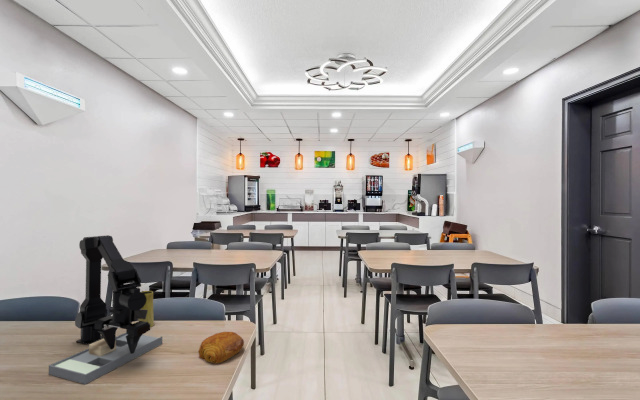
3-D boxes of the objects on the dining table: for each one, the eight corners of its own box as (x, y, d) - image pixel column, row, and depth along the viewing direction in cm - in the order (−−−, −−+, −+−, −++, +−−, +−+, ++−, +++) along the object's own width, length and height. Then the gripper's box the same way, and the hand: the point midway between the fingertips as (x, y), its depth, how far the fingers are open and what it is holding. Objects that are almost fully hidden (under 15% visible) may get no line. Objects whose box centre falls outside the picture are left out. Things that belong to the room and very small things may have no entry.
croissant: (250, 355, 118) (252, 332, 119) (219, 368, 104) (223, 342, 105) (219, 346, 124) (222, 324, 125) (187, 357, 110) (190, 333, 111)
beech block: (88, 353, 109) (88, 344, 109) (104, 346, 114) (104, 338, 114) (100, 356, 107) (100, 347, 107) (116, 349, 112) (116, 340, 112)
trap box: (48, 374, 100) (48, 365, 100) (130, 337, 127) (130, 330, 127) (85, 384, 95) (85, 375, 95) (162, 343, 121) (162, 336, 121)
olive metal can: (147, 329, 135) (147, 294, 135) (134, 328, 136) (134, 294, 136) (157, 323, 141) (157, 290, 141) (144, 322, 142) (145, 290, 142)
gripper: (163, 300, 113) (163, 345, 113) (123, 294, 119) (123, 337, 119) (135, 310, 102) (135, 360, 102) (93, 303, 109) (93, 350, 109)
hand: (122, 351), depth 108 cm, fingers open, 9 cm apart
